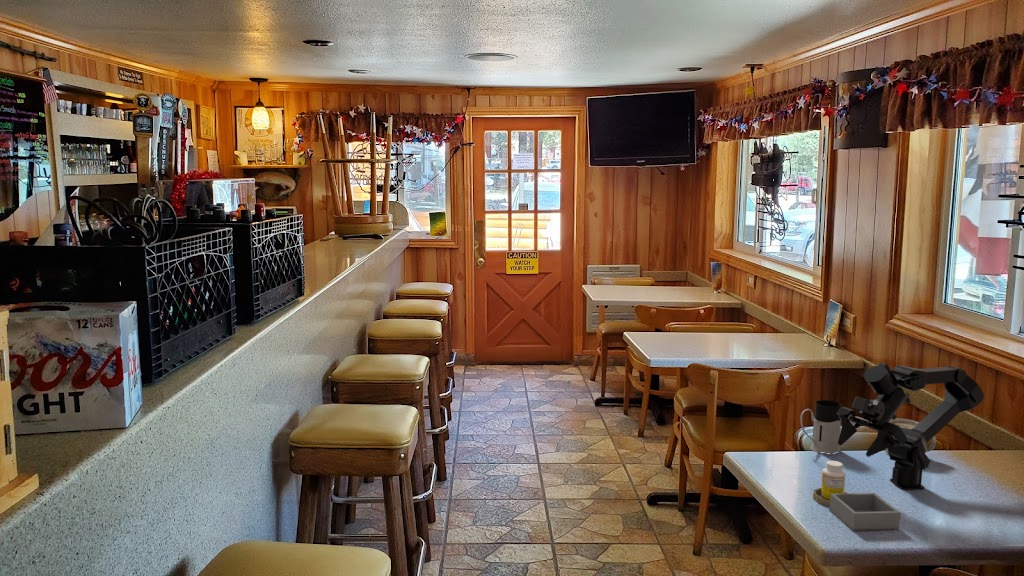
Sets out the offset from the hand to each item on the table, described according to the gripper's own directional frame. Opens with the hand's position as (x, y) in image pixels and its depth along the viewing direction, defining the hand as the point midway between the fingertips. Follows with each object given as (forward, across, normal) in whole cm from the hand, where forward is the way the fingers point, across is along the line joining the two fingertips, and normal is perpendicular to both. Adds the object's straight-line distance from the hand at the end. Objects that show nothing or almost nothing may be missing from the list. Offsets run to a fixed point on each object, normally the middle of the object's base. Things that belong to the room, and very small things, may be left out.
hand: (852, 450), depth 200 cm
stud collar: (+13, 0, +5) cm, 14 cm away
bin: (+15, +12, +4) cm, 19 cm away
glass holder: (-4, -30, +23) cm, 38 cm away
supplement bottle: (+14, 0, +5) cm, 15 cm away
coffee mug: (-20, -16, +39) cm, 47 cm away
